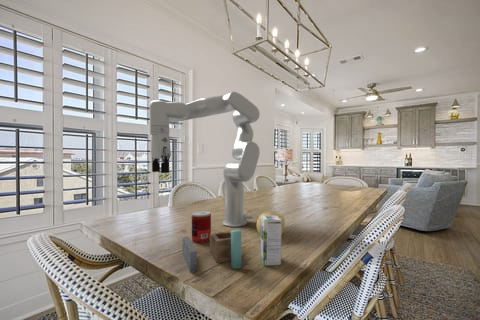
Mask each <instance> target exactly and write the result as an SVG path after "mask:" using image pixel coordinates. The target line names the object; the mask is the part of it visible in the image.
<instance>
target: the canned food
mask: <svg viewBox="0 0 480 320" xmlns="http://www.w3.org/2000/svg"><path fill="white" fill-rule="evenodd" d="M211 220H212V212H211V211H207V210H197V211H193V212H192V213H191V241H192V242H194V243H198V244H199V243H200V244H201V243H207V242H208V241H209V242H210V234H211V233H212V221H211Z"/></svg>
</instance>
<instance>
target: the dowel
mask: <svg viewBox="0 0 480 320" xmlns="http://www.w3.org/2000/svg"><path fill="white" fill-rule="evenodd" d="M230 231H231V260H230V267H231V268H232V269H235V270H236V269H240V268H242V230H241V229H232V230H230Z"/></svg>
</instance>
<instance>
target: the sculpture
mask: <svg viewBox="0 0 480 320" xmlns="http://www.w3.org/2000/svg"><path fill="white" fill-rule="evenodd" d="M264 215H274V216H278V217H279V218H280V219H281V235H282V234H283V232H284V230H285V226H286V225H285V223H286V222H285V221H286V220H285V216H284V215H282V214H280V213H278V212H277V211H267V212H266V211H264V212H263V213H262V214H260V215H259V216H258V219H257V221H256V230H257V233H258V234H259V236H260V237H261V217H262V216H264Z"/></svg>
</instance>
